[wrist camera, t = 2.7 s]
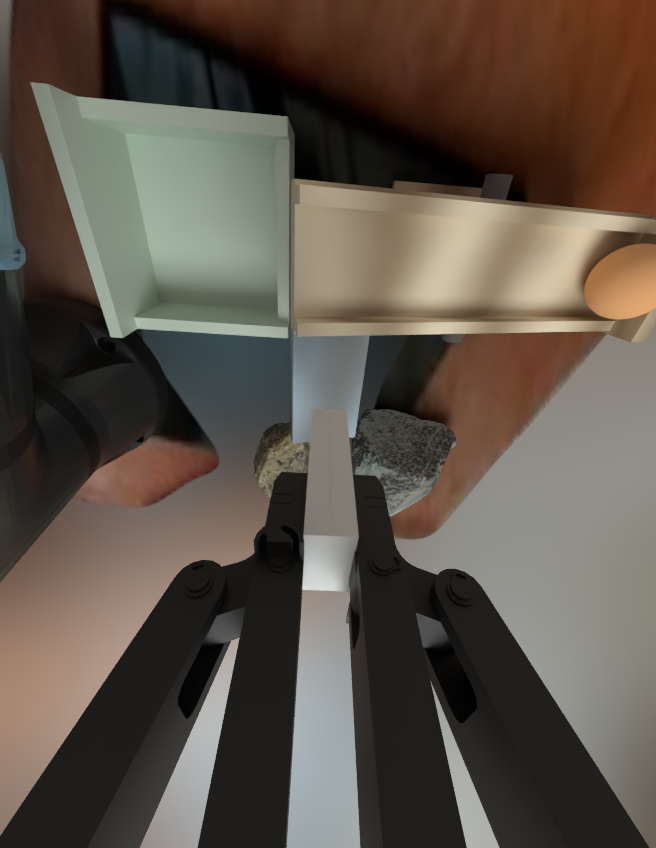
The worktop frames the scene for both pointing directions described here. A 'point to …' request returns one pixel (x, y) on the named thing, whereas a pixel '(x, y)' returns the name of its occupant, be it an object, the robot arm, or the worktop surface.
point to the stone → (400, 454)
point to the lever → (435, 276)
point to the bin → (178, 211)
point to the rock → (279, 456)
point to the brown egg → (623, 283)
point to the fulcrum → (437, 188)
